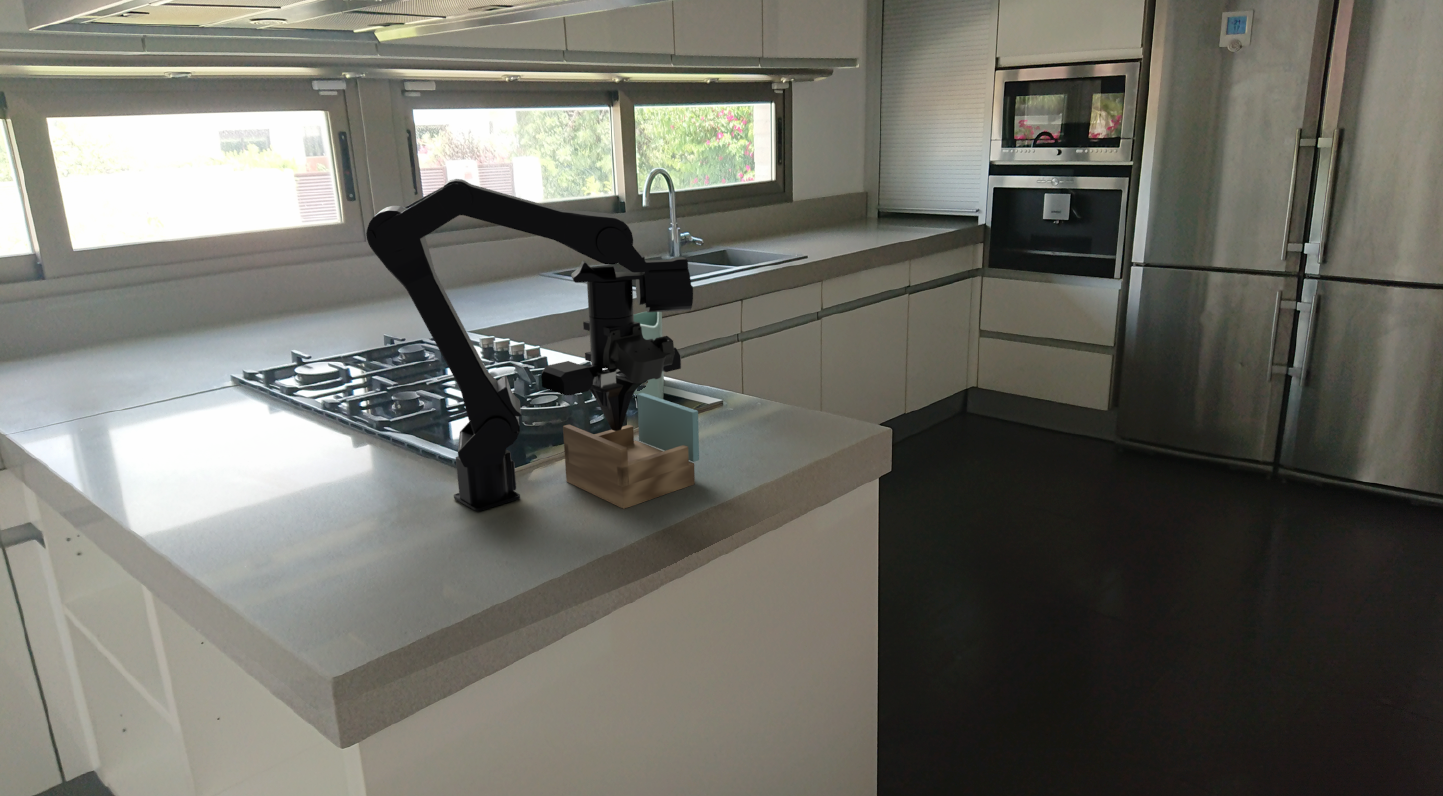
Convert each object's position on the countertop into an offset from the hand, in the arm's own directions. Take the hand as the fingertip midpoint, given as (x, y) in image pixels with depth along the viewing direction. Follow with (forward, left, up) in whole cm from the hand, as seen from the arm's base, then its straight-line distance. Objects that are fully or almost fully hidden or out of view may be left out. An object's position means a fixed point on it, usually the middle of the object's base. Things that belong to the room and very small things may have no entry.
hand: (616, 430), depth 126 cm
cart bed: (+2, 0, -8) cm, 8 cm away
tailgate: (+8, 0, -5) cm, 10 cm away
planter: (+30, +33, -8) cm, 46 cm away
